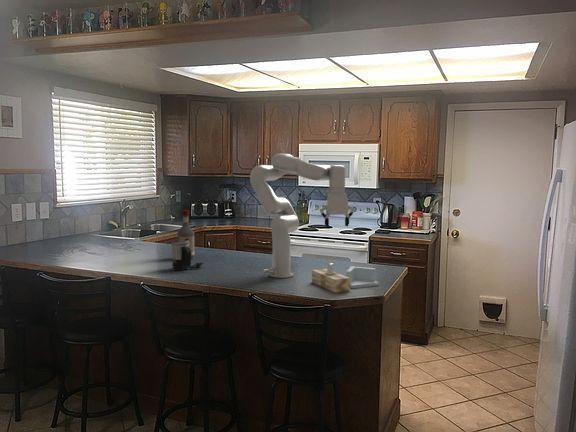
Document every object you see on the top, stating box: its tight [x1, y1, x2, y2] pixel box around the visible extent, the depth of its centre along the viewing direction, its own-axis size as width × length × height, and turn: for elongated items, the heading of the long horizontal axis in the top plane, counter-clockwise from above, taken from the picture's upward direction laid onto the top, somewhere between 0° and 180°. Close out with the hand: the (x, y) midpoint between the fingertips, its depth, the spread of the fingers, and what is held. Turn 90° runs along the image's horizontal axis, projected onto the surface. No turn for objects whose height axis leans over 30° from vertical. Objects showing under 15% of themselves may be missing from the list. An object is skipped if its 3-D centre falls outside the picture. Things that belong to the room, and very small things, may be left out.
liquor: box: [177, 209, 195, 260], centre depth 293 cm, size 9×9×30 cm
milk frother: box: [170, 241, 204, 271], centre depth 265 cm, size 14×16×15 cm
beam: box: [311, 268, 351, 293], centre depth 229 cm, size 8×22×6 cm, turn 25°
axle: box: [326, 262, 335, 275], centre depth 228 cm, size 3×3×11 cm
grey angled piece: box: [345, 265, 380, 289], centre depth 234 cm, size 17×13×8 cm
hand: (336, 226), depth 231 cm, fingers open, 9 cm apart
